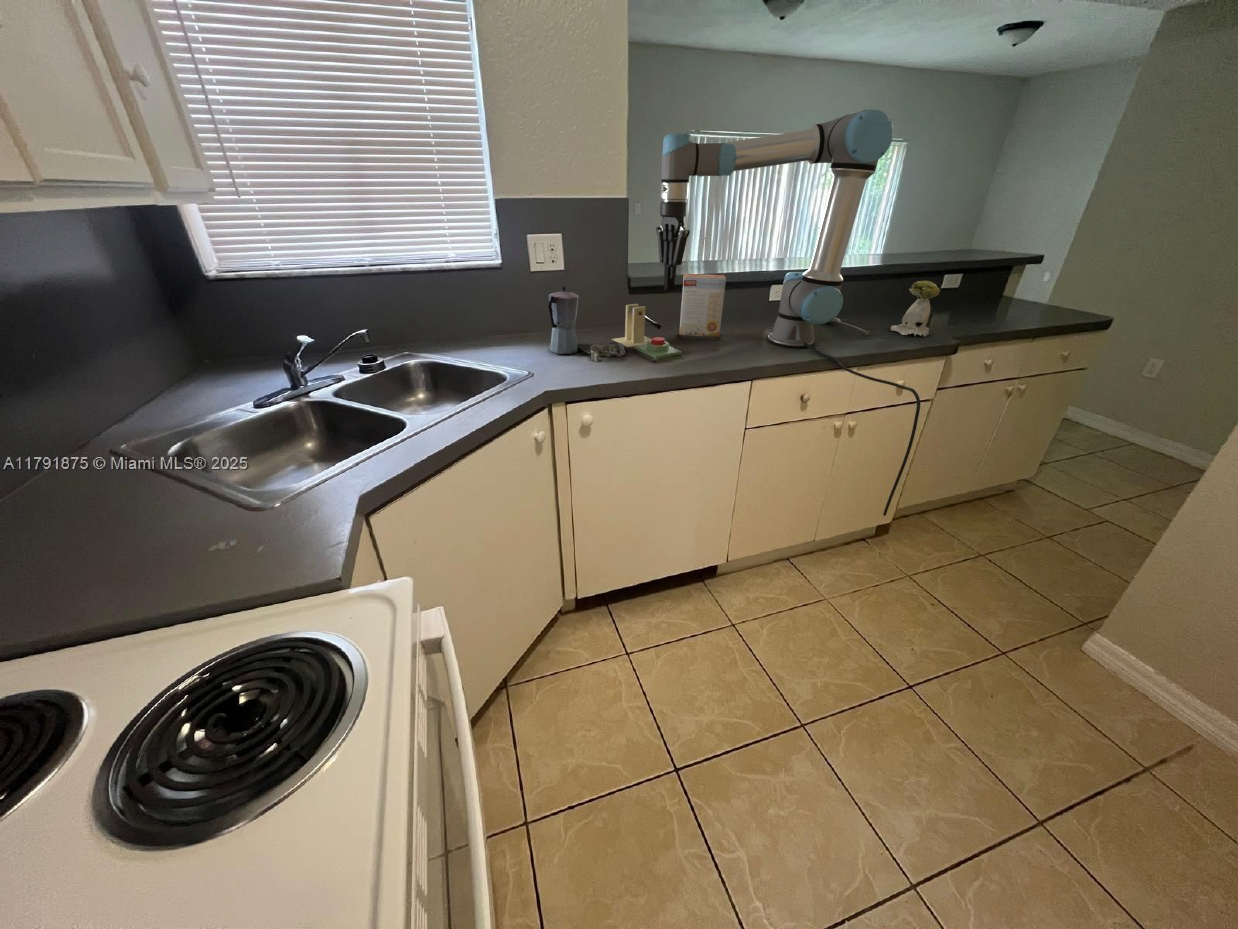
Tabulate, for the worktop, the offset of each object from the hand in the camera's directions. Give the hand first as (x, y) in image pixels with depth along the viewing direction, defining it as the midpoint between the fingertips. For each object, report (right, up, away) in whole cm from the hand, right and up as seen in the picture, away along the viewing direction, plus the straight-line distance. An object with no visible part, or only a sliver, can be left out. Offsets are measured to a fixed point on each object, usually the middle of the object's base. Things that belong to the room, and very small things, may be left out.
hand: (669, 289), depth 147 cm
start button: (-3, -15, +6) cm, 17 cm away
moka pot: (-33, -17, +10) cm, 38 cm away
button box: (-3, -18, +8) cm, 20 cm away
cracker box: (+13, -8, +26) cm, 30 cm away
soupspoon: (+72, -1, +40) cm, 82 cm away
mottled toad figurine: (-19, -20, +5) cm, 28 cm away
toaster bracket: (-10, -13, +17) cm, 23 cm away
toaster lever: (-7, -5, +15) cm, 17 cm away
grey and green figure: (+95, -3, +37) cm, 102 cm away
